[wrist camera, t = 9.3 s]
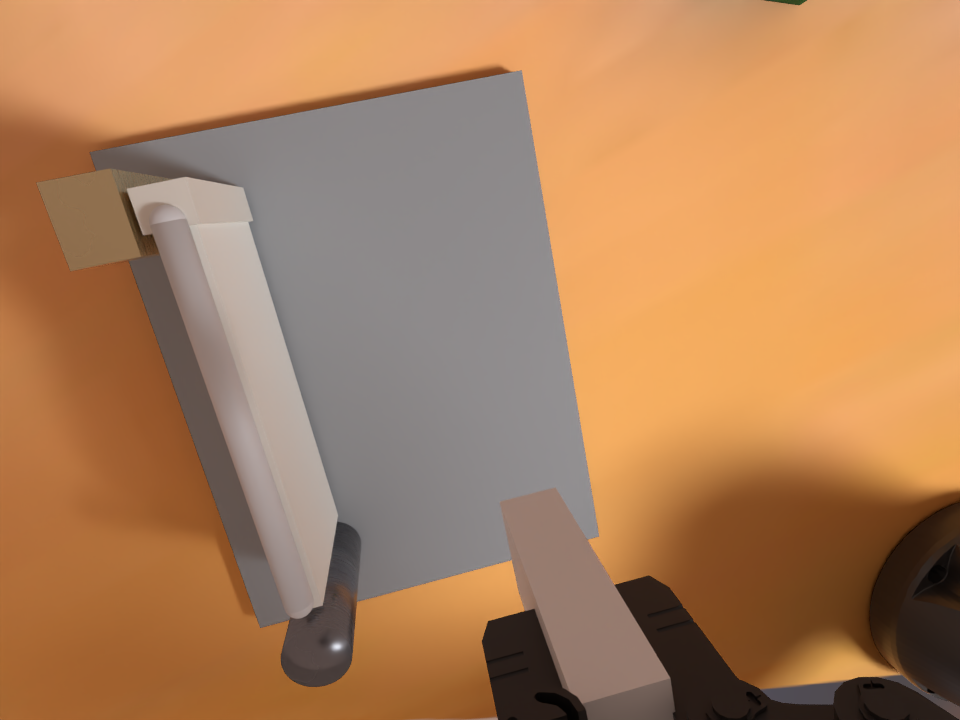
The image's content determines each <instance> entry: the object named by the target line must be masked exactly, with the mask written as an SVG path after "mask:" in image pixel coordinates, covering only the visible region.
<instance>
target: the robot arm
mask: <svg viewBox="0 0 960 720" xmlns="http://www.w3.org/2000/svg"><path fill="white" fill-rule="evenodd" d="M500 507H501V511H502V516H503V521H504V525H505V530H506V535H507V539H508V544H509V549H510V553H511V558H512V563H513V567H514V572H515V576H516V581H517V586H518V590H519V594H520V597H521V600H522V603H523V606H524V609H525V611H524V612H520V613H517V614H513V615H509V616H506V617H502V618H498V619H495V620H491V621H488V623H487V627H486V630H485V633H484V636H483V640H482V644H483V649H484V653H485V658H486V663H487V668H488V673H489V678H490V683H491V688H492V692H493V697H494V702H495V707H496V712H497V717H498V720H959V719H957V718H956V717H954V716H953V715H951V714H950V713H948V712H947V711H945V710H944V709H942V708H940V707H939V706H937V705H936V704H934V703H933V702H931V701H930V700H928V699H927V698H925V697H924V696H922V695H921V694H919V693H918V692H916V691H914V690H912V689H910V688H908V687H906V686H904V685H902V684H900V683H898V682H894V681H890V680H886V679H882V678H878V677H858V678H855V679H852V680H849V681H846V682H844V683H843V684H842V685H841V686H840V687H839V688H838V689H837V690H836V691H835V696H834V703H833V705H806V704H805V705H803V704H801V705H800V704H789V703H781V702H778V701H774V700H771V699H770V698H769V697H767V696H766V695H765V694H764V693H763V692H762V691H761V690H760V689H759V688H757V687H755V686H753V685H751V684H748V683H746V682H744V681H742V680H739V679H738V678H737V677H736V676H735V675H734V673H733V672H732V671H731V669H730V668H729V667H728V665H727V664H726V663H725V661H724V660H723V659H722V657H721V656H720V655H719V653H718V652H717V651H716V649H715V648H714V647H713V645H712V644H711V643H710V641H709V640H708V639H707V637H706V636H705V635H704V633H703V632H702V631H701V629H700V628H699V627H698V625H697V624H696V623H694V621H693V619H692V617H691V616H690V615H689V613H688V612H687V611H686V609H685V608H683V606H682V604H681V603H680V601H679V600H678V599H677V597H676V596H675V595H674V593H673V592H672V591H671V589H670V588H669V587H667V586H666V585H664V584H662V583H661V582H659V581H657V580H656V579H654V578H652V577H651V576H646V577H642V578H638V579H635V580H631V581H627V582H624V583H620V584H616V585H614V584H613V582H612V580H611V579H610V577H609V575H608V574H607V572H606V570H605V569H604V567H603V565H602V564H601V562H600V560H599V559H598V557H597V555H596V554H595V552H594V550H593V549H592V547H591V545H590V544H589V542H588V540H587V539H586V537H585V535H584V534H583V532H582V530H581V529H580V527H579V525H578V524H577V522H576V520H575V519H574V517H573V515H572V514H571V512H570V510H569V509H568V507H567V505H566V504H565V502H564V501H563V499H562V497H561V496H560V494H559V492H558V491H557V489H556V487H555V488H551V489H547V490H543V491H539V492H536V493H532V494H528V495H524V496H520V497H516V498H512V499H508V500H504V501H500ZM870 627H871V633H872V637H873V640H874V642H875V645H876V647H877V649H878V650H879V652H880V653H881V655H882V656H883V657H884V659H885V660H886V661H887V662H888V663H890V664H891V665H892V666H893V667H894V668H895V669H896V670H897V671H898V672H900V673H901V674H902V675H903V676H904V677H905V678H906V679H907V680H909V681H910V682H911V683H912V684H913V685H915V686H916V687H918V688H919V689H921V690H922V691H924V692H926V693H928V694H930V695H932V696H934V697H937V698H939V699H942V700H946V701H950V702H952V703H953V704H955V705H957V706H959V707H960V502H959V503H956V504H954V505H951V506H949V507H947V508H945V509H943V510H941V511H939V512H937V513H935V514H934V515H932V516H930V517H929V518H928V519H926V520H925V521H923V522H922V523H921V524H919V525H918V526H917V527H916V528H915V529H914V530H912V531H911V532H910V533H909V534H908V535H907V536H906V537H905V538H904V539H903V540H902V542H901V543H900V544H899V545H898V546H897V547H896V549H895V550H894V551H893V553H892V554H891V556H890V557H889V559H888V560H887V562H886V563H885V565H884V567H883V569H882V571H881V573H880V575H879V577H878V580H877V582H876V585H875V588H874V591H873V595H872V599H871V605H870Z"/></svg>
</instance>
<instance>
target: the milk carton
mask: <svg viewBox="0 0 960 720" xmlns="http://www.w3.org/2000/svg"><path fill="white" fill-rule="evenodd" d="M766 1H773V2H780V3H788V4H795V5H801V4H802V3H804V2H805V1H807V0H766Z"/></svg>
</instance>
